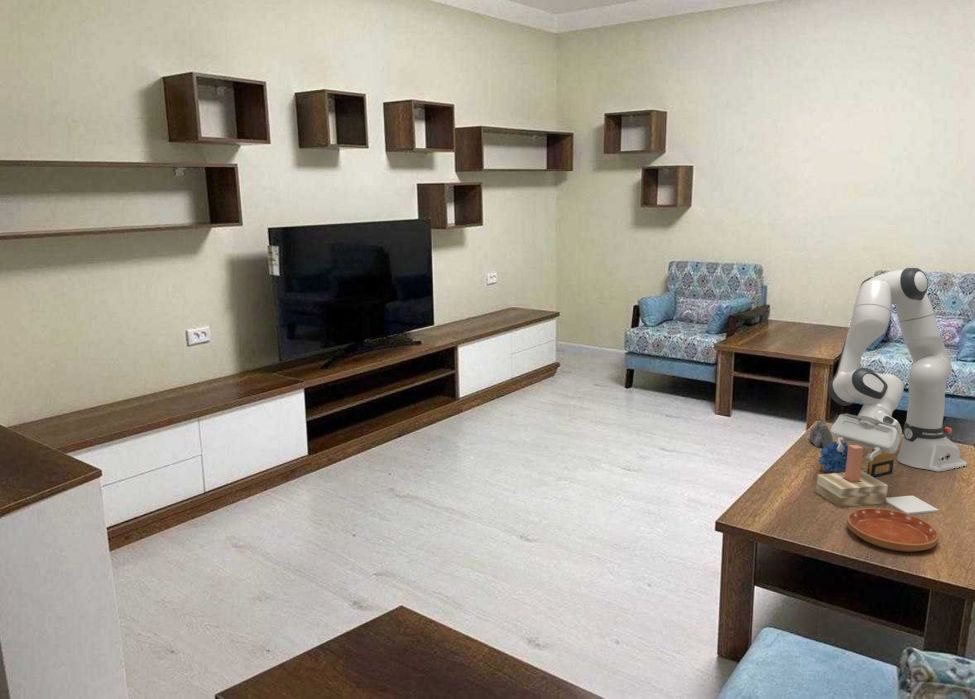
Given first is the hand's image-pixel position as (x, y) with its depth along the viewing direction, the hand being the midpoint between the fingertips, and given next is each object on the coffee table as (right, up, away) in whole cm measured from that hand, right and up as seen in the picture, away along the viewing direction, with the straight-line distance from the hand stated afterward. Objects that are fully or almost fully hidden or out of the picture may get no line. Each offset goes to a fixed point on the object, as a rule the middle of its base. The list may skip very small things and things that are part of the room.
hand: (853, 455), depth 239 cm
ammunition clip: (+18, -10, +20) cm, 28 cm away
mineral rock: (+12, -3, +51) cm, 53 cm away
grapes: (+4, -9, +22) cm, 24 cm away
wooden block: (-1, -11, 0) cm, 11 cm away
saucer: (-2, -20, -25) cm, 32 cm away
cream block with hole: (-1, -14, +1) cm, 14 cm away
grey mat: (+15, -15, -5) cm, 22 cm away
